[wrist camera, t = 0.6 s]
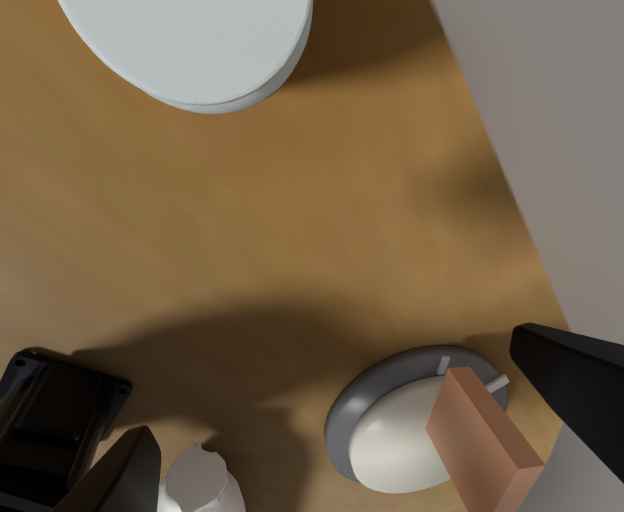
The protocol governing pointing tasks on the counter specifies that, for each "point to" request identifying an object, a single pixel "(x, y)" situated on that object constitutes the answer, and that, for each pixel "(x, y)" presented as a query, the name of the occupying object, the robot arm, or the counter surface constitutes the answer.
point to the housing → (390, 378)
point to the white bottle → (199, 484)
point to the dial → (445, 443)
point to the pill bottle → (197, 47)
